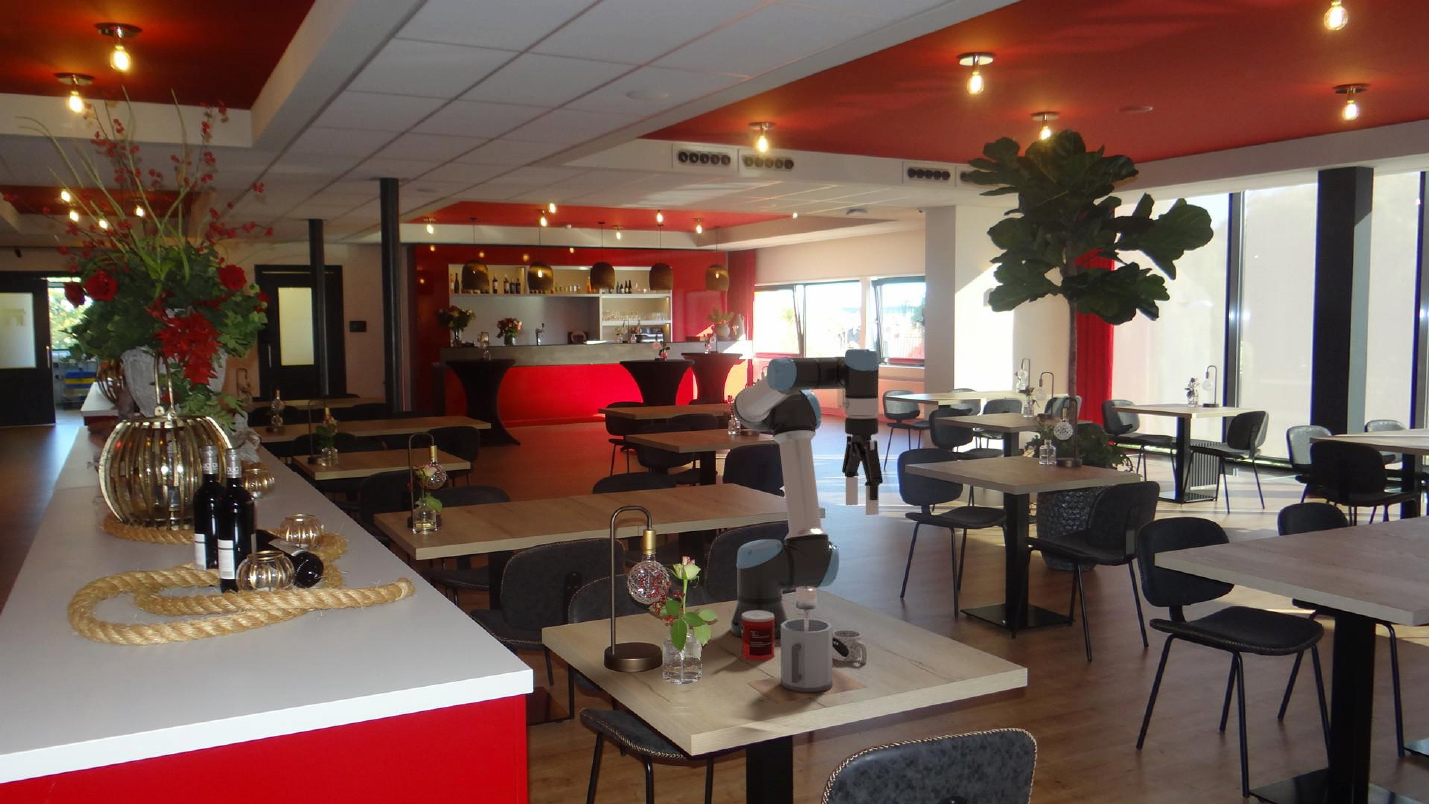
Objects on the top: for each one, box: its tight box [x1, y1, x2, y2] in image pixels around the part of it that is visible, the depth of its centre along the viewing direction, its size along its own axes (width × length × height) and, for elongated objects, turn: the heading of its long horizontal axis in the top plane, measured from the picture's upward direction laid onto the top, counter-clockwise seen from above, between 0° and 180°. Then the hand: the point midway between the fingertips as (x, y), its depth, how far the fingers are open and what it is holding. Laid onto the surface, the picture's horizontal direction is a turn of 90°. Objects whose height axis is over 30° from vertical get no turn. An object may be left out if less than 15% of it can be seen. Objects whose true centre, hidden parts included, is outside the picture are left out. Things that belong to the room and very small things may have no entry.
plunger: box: [795, 586, 818, 632], centre depth 215 cm, size 8×8×18 cm
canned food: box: [741, 610, 775, 662], centre depth 236 cm, size 8×8×11 cm
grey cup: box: [780, 617, 833, 694], centre depth 214 cm, size 11×14×13 cm
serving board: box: [746, 667, 868, 704], centre depth 215 cm, size 22×14×1 cm, turn 115°
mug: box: [832, 629, 868, 665], centre depth 233 cm, size 10×7×7 cm
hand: (861, 509), depth 228 cm, fingers open, 13 cm apart
